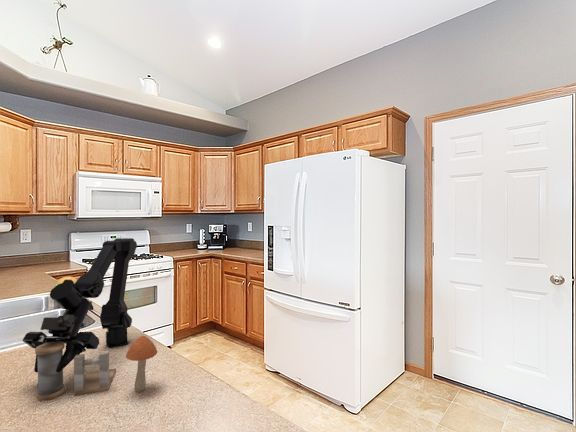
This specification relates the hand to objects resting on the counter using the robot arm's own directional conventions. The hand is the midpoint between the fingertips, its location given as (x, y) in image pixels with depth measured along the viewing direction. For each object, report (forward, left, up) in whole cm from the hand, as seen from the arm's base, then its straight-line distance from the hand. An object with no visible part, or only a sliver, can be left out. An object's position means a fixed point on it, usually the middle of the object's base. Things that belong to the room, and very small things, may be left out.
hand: (46, 371), depth 87 cm
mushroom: (-21, +11, -7) cm, 25 cm away
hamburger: (-7, -136, -7) cm, 137 cm away
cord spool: (-1, -1, -7) cm, 7 cm away
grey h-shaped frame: (-11, 0, -7) cm, 13 cm away
